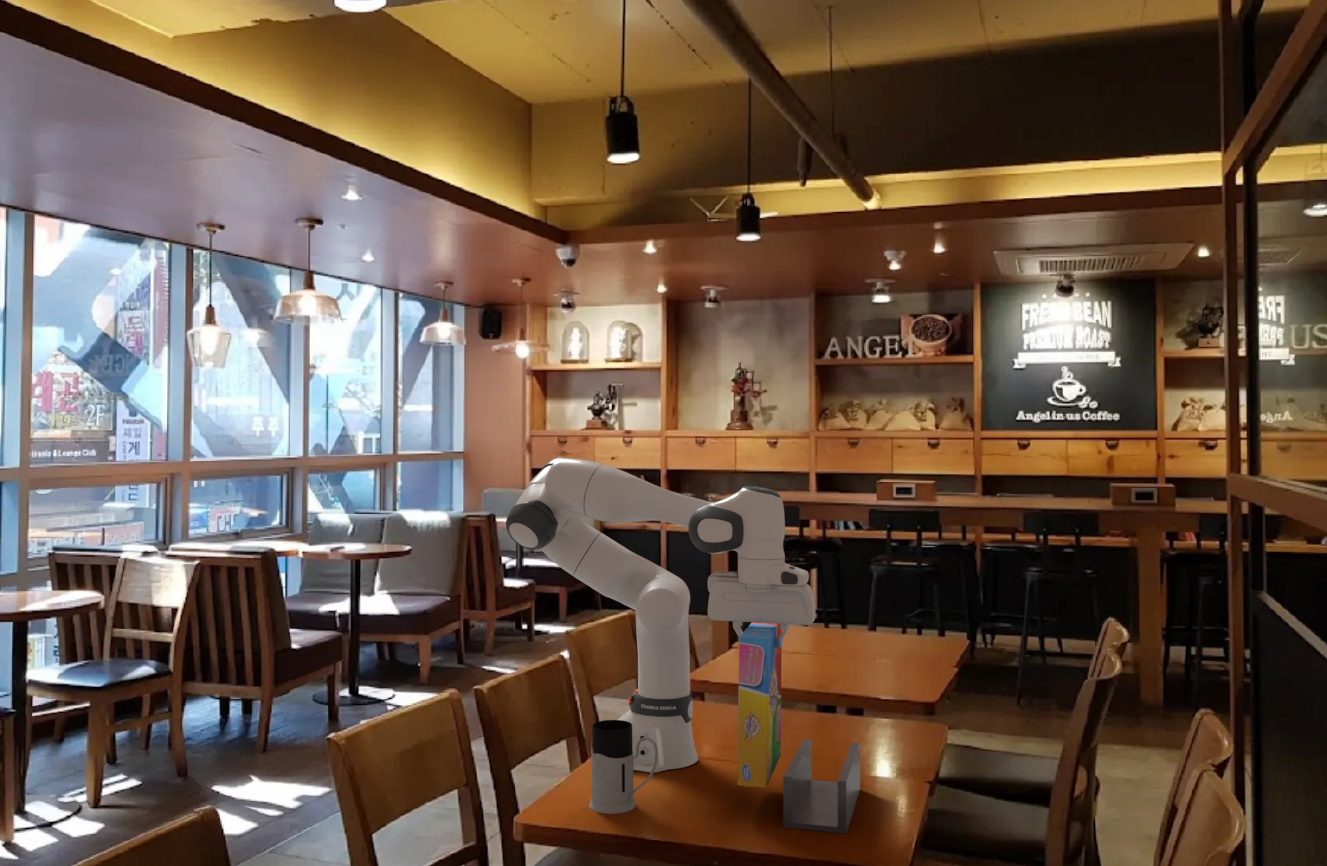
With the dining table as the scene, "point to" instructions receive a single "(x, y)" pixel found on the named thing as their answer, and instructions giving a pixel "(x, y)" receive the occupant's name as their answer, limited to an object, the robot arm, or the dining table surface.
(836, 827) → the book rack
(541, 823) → the dining table surface
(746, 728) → the game box
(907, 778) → the dining table surface
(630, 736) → the glass holder
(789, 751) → the dining table surface
